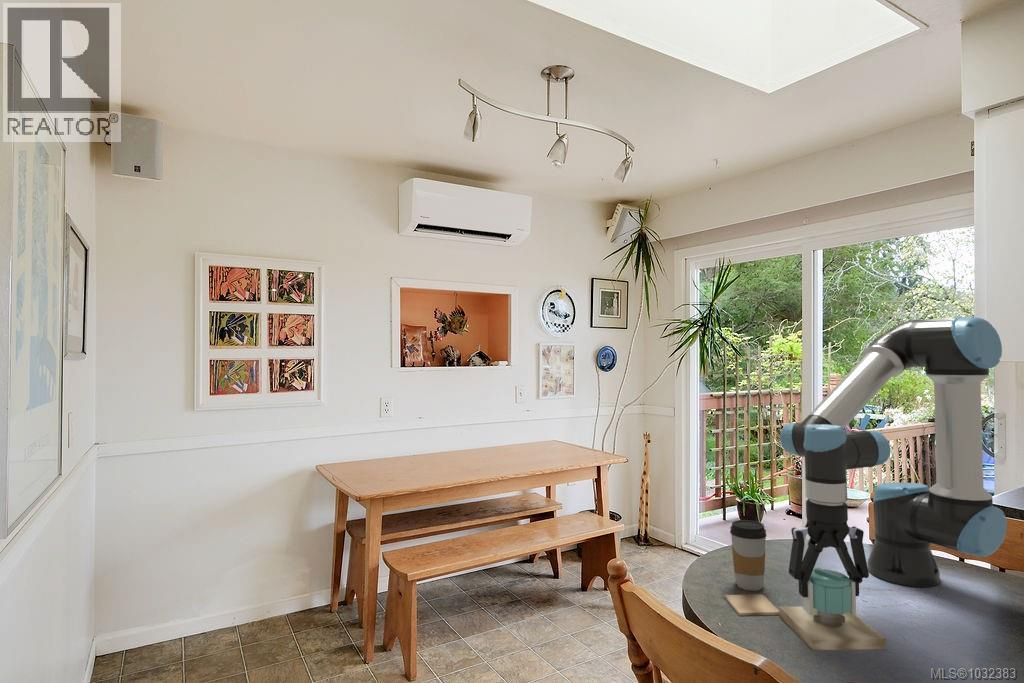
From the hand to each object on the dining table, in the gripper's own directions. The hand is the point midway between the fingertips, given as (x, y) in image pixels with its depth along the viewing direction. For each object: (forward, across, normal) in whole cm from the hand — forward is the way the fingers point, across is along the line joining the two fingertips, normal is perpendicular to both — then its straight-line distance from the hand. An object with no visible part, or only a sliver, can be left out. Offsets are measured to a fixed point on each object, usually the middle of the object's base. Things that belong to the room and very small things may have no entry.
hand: (829, 611), depth 116 cm
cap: (-1, 0, 0) cm, 1 cm away
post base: (+4, 0, 0) cm, 4 cm away
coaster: (+4, +11, -12) cm, 17 cm away
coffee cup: (+4, +7, -23) cm, 24 cm away
